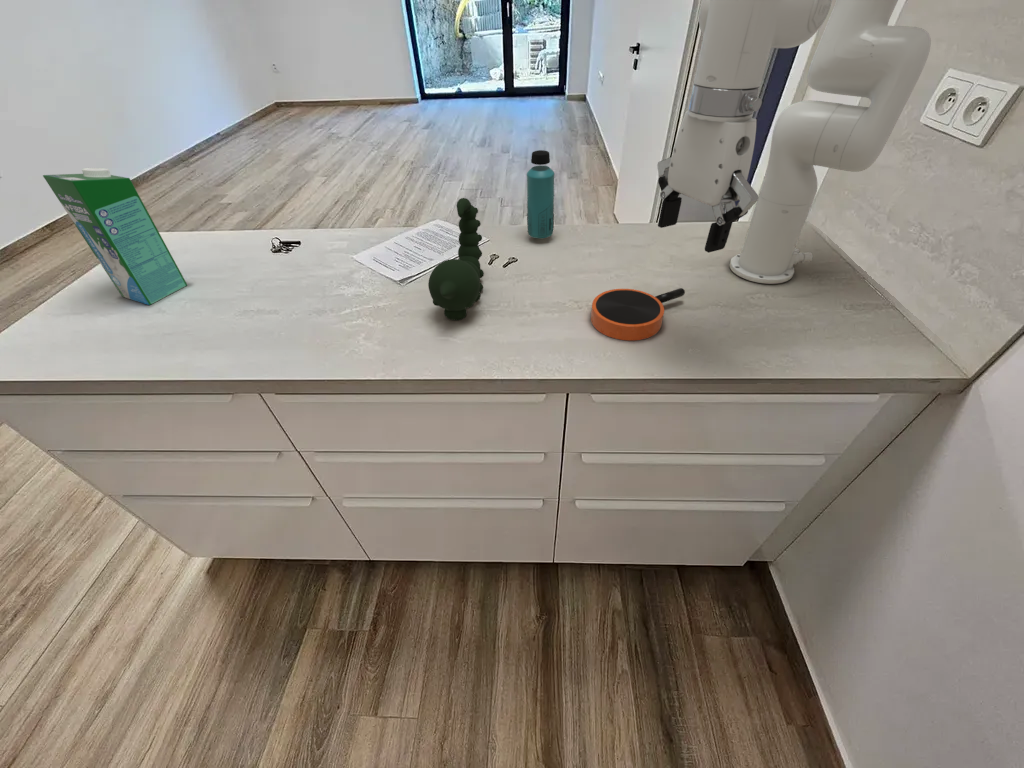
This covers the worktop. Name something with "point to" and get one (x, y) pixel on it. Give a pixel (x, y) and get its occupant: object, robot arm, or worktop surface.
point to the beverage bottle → (540, 196)
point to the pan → (630, 313)
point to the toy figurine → (460, 268)
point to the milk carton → (119, 233)
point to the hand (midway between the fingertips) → (689, 237)
